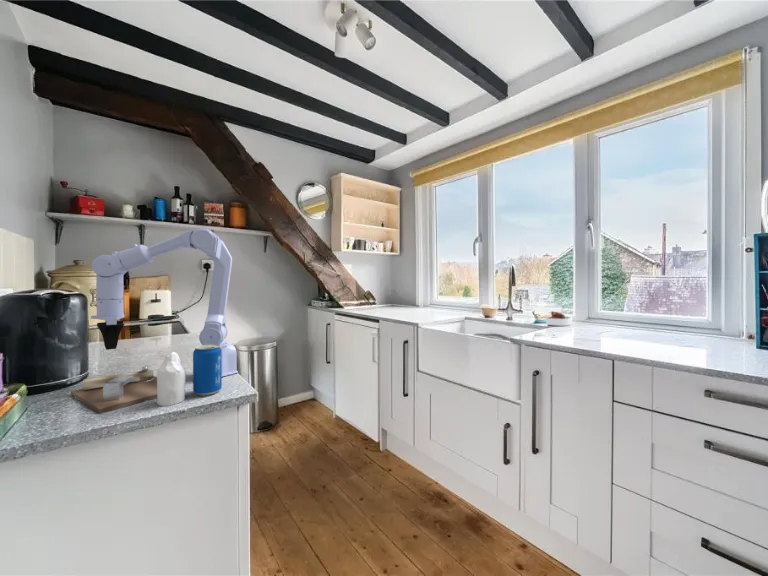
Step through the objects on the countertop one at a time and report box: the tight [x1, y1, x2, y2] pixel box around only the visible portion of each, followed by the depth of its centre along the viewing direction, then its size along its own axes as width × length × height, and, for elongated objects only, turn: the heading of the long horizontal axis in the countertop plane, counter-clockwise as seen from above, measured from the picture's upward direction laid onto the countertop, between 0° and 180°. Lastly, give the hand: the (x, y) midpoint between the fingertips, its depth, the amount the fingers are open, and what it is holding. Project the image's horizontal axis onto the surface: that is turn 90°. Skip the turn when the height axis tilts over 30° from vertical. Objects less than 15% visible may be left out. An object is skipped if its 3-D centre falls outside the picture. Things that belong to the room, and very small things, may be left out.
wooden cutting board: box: [70, 375, 157, 414], centre depth 81 cm, size 17×20×1 cm
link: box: [82, 369, 154, 390], centre depth 85 cm, size 14×4×2 cm, turn 133°
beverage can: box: [192, 344, 223, 397], centre depth 82 cm, size 6×6×12 cm
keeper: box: [103, 365, 154, 401], centre depth 82 cm, size 17×4×4 cm, turn 12°
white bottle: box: [156, 351, 187, 407], centre depth 76 cm, size 6×12×6 cm
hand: (110, 348), depth 88 cm, fingers open, 3 cm apart
